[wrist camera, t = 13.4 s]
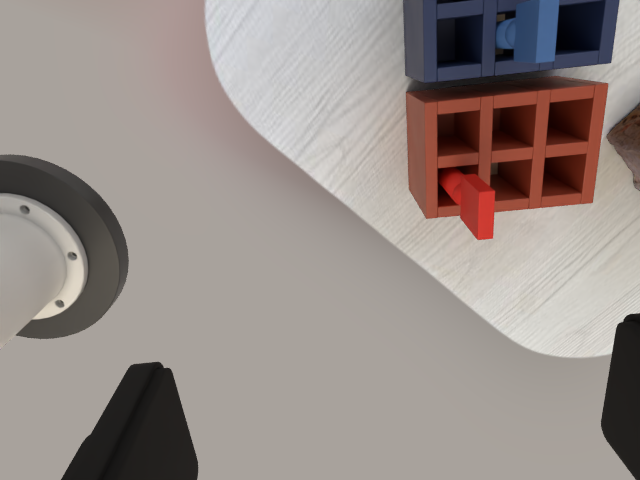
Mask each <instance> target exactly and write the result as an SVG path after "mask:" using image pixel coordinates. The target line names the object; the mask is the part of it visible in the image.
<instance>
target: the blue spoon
mask: <svg viewBox="0 0 640 480" xmlns="http://www.w3.org/2000/svg"><path fill="white" fill-rule="evenodd" d="M558 11H559V0H530V1H526V2H523V3H520V4H517V5H516V18H513V19H508V20H503V21H499V22H496V46H495V49H514V62H527V63H543V62H553V61H555V49H556V36H557V24H558Z"/></svg>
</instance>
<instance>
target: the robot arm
mask: <svg viewBox="0 0 640 480" xmlns="http://www.w3.org/2000/svg"><path fill="white" fill-rule="evenodd" d="M87 277H88V260H87V256H86V253H85V249H84V247H83V245H82V243H81V241H80V239H79V237H78V235H77V234H76V233H75V231H74V230H73V228H72V227H71V226H70V225H69V224H68V223H67V222H66V221H65V220H64V219H63V218H62V217H61V216H60V215H59V214H57V213H56V212H55V211H53V210H52V209H51V208H49V207H48V206H46V205H44V204H42V203H40V202H38V201H36V200H34V199H31V198H28V197H25V196H22V195H16V194H10V193H0V349H1V348H2V347H3V346H4V345H6V344H7V343H8V342H9V341H10V340H11V339H12V338H13V337H14V336H15V335H16V334H17V333H18V332H19V331H20V330H21V329H22V328H23V327H24V326H25V325H26V324H28V323H29V322H30V321H31V320H32V319H43V318H49V317H52V316H54V315H57V314H59V313H61V312H63V311H64V310H66V309H67V308H69V307H70V306H71V305H72V304H73V303H74V302H75V301H76V300H77V298H78V297H79V296H80V294H81V293H82V292H83V290H84V287H85V285H86V282H87ZM601 427H602V431H603V434H604V436H605V438H606V440H607V442H608V443H609V444H610V446H611V447H612V448H613V449H614V451H615V452H616V454H617V455H618V456H619V458H620V459H621V460H622V461H623V463H624V464H625V465H626V467H627V468H628V470H629V471H630V472H631V473H632V475H633V476H634V477H635V479H636V480H640V313H638V314H630V315H627V316H626V317H625V319H624V321H623V322H621V323H619V324H618V325H617V328H616V333H615V339H614V345H613V352H612V358H611V364H610V371H609V377H608V383H607V388H606V394H605V401H604V407H603V413H602V419H601ZM197 476H198V461H197V457H196V453H195V450H194V447H193V443H192V440H191V436H190V432H189V429H188V426H187V422H186V418H185V415H184V412H183V408H182V405H181V401H180V398H179V394H178V391H177V387H176V384H175V380H174V377H173V373H172V371H171V369H170V368H164V367H163V365H162V364H161V363H160V362H152V363H142V364H133V365H131V366H130V367H129V368H128V370H127V372H126V373H125V375H124V377H123V379H122V380H121V382H120V384H119V386H118V387H117V389H116V391H115V393H114V394H113V396H112V398H111V400H110V401H109V403H108V405H107V407H106V409H105V410H104V412H103V414H102V416H101V417H100V419H99V421H98V423H97V424H96V426H95V428H94V430H93V431H92V433H91V435H89V436H88V437H87V438H86V439H85V440H84V442H83V443H82V444H81V446H80V448H79V449H78V451H77V453H76V455H75V456H74V458H73V460H72V462H71V463H70V465H69V467H68V469H67V470H66V472H65V474H64V475H63V477H62V479H61V480H197Z"/></svg>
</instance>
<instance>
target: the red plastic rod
mask: <svg viewBox="0 0 640 480" xmlns="http://www.w3.org/2000/svg"><path fill="white" fill-rule="evenodd" d="M438 182H439V183H440V185H441V186H442V187H443V188H444V189H445V191H446V192H447V193H448V194H449V195H450V197H451V198H452V199H453V200H454V201H455V203H457V204H458V205H460V206H461V210H460V218H461V219H462V221H463V222H464V223H465V225H466V226H467V227H468V228H469V230H470V231H471V232H472V233H473V235H474V236H475V237H476V238H477V240H482V239H492V238H493V226H494V204H495V190H494V189H492V188H491V187H490V186H489V185H488V184H487V183H485V182H484V181H483V180H482V179H481V178H479V177H478V176H477V175H476V174H468V175H464V174H463V173H462V172H461V171H460V170H459V169H457V168H456V167H446V168H438Z"/></svg>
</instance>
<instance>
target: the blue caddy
mask: <svg viewBox="0 0 640 480" xmlns="http://www.w3.org/2000/svg"><path fill="white" fill-rule="evenodd" d="M526 1H530V0H403V9H404V42H405V75H406V76H408V77H411V78H413V79H416V80H418V81H421V82H423V83H432V82H441V81H450V80H460V79H469V78H478V77H487V76H493V75H495V76H497V75H506V74H515V73H524V72H533V71H543V70H552V69H561V68H570V67H580V66H589V65H597V64H607V63H611V60H612V52H613V45H614V37H615V30H616V22H617V14H618V7H619V0H559V11H558V24H557V36H556V49H555V61H553V62H543V63H527V62H514V49H495V46H496V22H499V21H503V20H508V19H513V18H516V5H517V4H520V3H523V2H526Z"/></svg>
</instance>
